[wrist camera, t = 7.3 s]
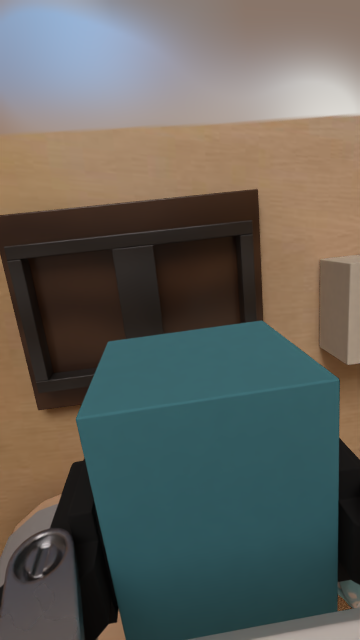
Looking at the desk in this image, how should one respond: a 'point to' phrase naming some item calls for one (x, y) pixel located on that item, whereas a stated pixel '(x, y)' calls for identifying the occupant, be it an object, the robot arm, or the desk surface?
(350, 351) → the cream pad
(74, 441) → the desk surface
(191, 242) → the back plate
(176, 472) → the teal pad
